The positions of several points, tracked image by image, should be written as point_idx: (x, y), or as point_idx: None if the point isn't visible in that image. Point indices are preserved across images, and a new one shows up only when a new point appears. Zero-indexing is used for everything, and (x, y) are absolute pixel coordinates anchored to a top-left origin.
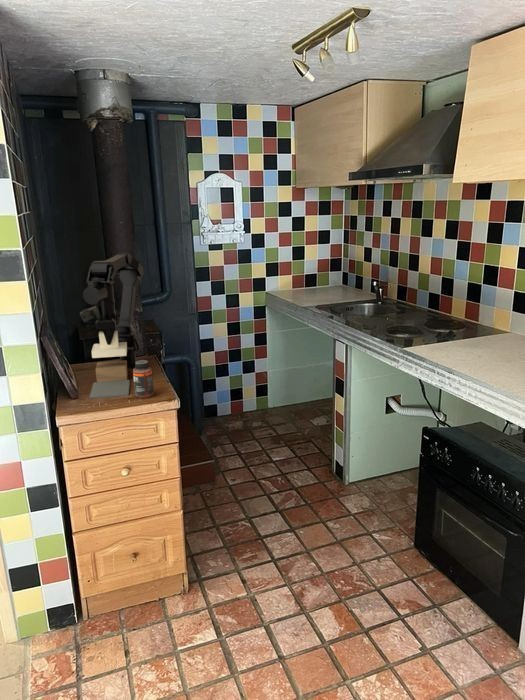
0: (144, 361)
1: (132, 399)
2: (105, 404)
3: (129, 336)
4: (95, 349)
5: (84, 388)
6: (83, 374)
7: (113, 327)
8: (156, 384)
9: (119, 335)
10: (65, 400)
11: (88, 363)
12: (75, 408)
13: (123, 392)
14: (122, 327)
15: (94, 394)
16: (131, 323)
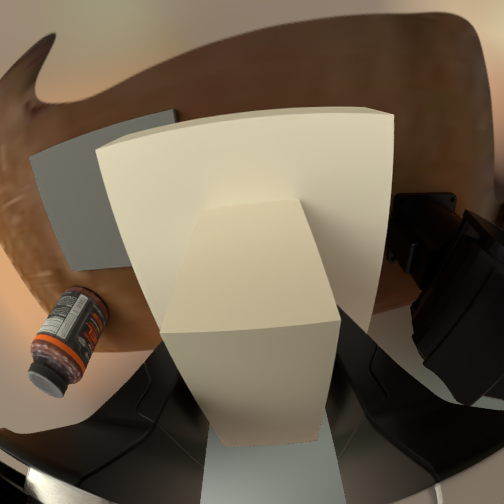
0: (50, 392)
1: (55, 279)
2: (13, 218)
3: (428, 365)
4: (144, 173)
5: (122, 87)
6: (342, 32)
7: (23, 481)
8: None
9: (471, 320)
10: (21, 80)
11: (482, 67)
12: None
13: (76, 256)
14: (496, 371)
15: (46, 166)
16: None
